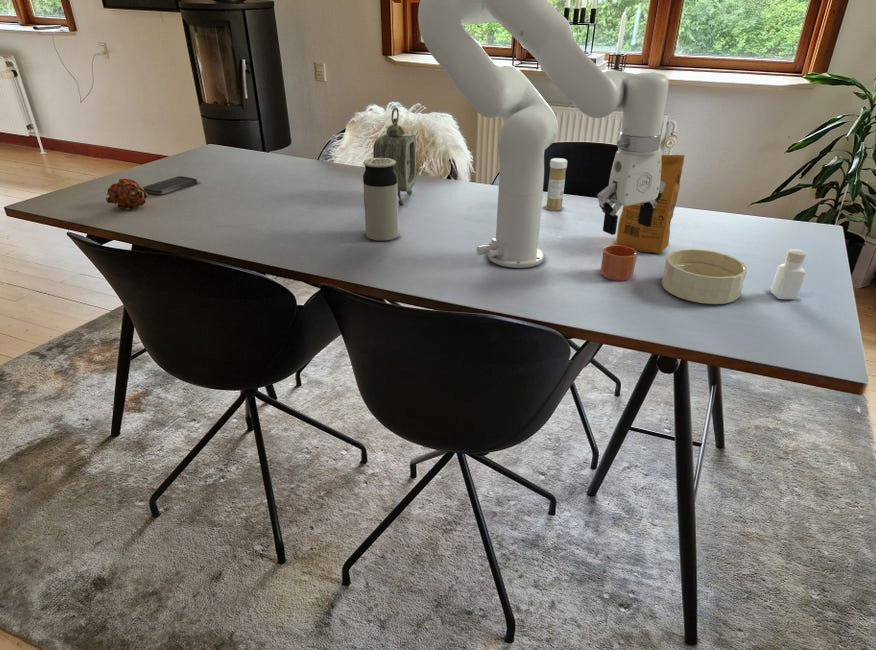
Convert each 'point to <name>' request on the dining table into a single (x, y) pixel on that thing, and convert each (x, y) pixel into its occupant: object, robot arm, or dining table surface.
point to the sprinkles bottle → (556, 183)
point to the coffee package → (659, 231)
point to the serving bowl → (704, 276)
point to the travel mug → (380, 199)
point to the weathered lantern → (399, 154)
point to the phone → (169, 185)
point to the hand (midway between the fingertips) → (626, 228)
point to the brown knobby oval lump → (126, 194)
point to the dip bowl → (618, 262)
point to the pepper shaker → (789, 276)
